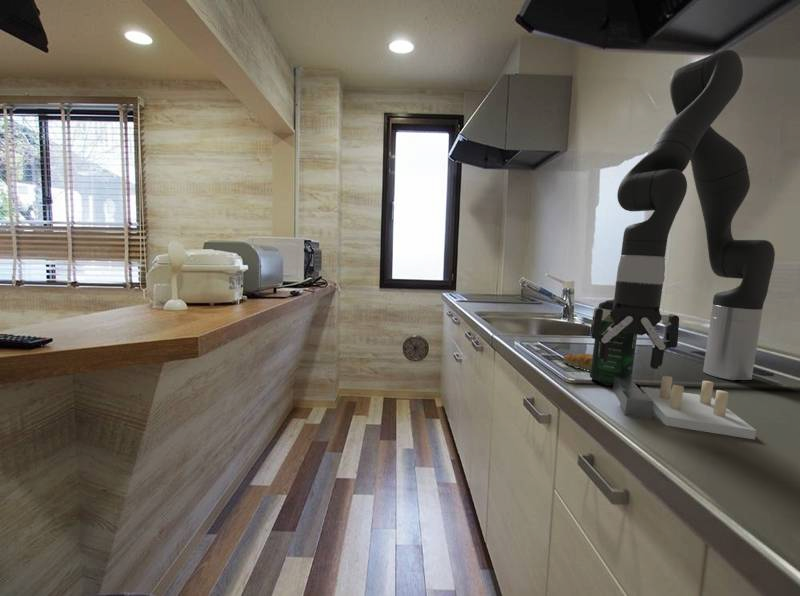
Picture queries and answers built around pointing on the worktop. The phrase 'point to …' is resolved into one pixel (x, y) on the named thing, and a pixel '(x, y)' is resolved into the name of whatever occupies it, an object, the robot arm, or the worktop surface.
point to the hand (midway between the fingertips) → (628, 364)
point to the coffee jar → (613, 353)
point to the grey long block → (632, 398)
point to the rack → (697, 410)
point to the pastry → (579, 360)
